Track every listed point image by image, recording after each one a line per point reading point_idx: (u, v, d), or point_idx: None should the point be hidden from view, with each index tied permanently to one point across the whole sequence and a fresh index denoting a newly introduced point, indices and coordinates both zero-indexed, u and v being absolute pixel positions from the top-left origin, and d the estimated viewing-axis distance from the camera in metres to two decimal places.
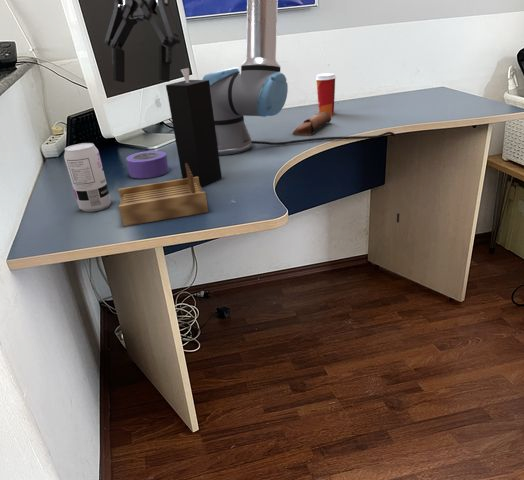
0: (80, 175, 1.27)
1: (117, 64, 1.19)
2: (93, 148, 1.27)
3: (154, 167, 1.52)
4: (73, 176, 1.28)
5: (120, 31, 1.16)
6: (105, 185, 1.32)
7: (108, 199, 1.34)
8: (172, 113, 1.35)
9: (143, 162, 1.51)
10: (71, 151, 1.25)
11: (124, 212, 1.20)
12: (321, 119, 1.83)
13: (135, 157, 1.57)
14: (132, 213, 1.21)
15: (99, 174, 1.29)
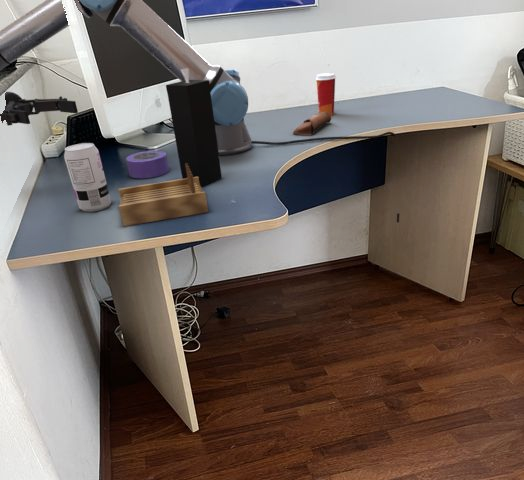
0: (80, 175, 1.27)
1: (67, 110, 1.34)
2: (93, 148, 1.27)
3: (154, 167, 1.52)
4: (73, 176, 1.28)
5: None
6: (105, 185, 1.32)
7: (108, 199, 1.34)
8: (172, 113, 1.35)
9: (143, 162, 1.51)
10: (71, 151, 1.25)
11: (124, 212, 1.20)
12: (321, 119, 1.83)
13: (135, 157, 1.57)
14: (132, 213, 1.21)
15: (99, 174, 1.29)
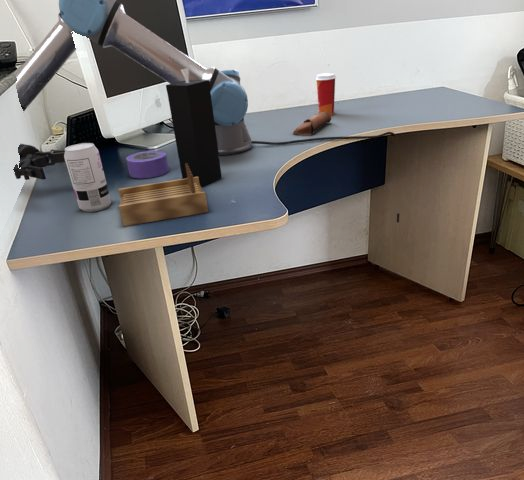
0: (80, 175, 1.27)
1: None
2: (93, 148, 1.27)
3: (154, 167, 1.52)
4: (73, 176, 1.28)
5: None
6: (105, 185, 1.32)
7: (108, 199, 1.34)
8: (172, 113, 1.35)
9: (143, 162, 1.51)
10: (71, 151, 1.25)
11: (124, 212, 1.20)
12: (321, 119, 1.83)
13: (135, 157, 1.57)
14: (132, 213, 1.21)
15: (99, 174, 1.29)
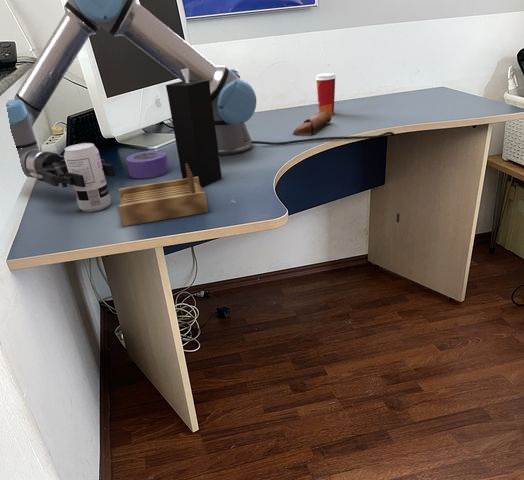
0: None
1: (104, 173, 1.33)
2: (93, 148, 1.27)
3: (154, 167, 1.52)
4: None
5: None
6: (105, 185, 1.32)
7: (108, 199, 1.34)
8: (172, 113, 1.35)
9: (143, 162, 1.51)
10: (71, 151, 1.25)
11: (124, 212, 1.20)
12: (321, 119, 1.83)
13: (135, 157, 1.57)
14: (132, 213, 1.21)
15: (99, 174, 1.29)
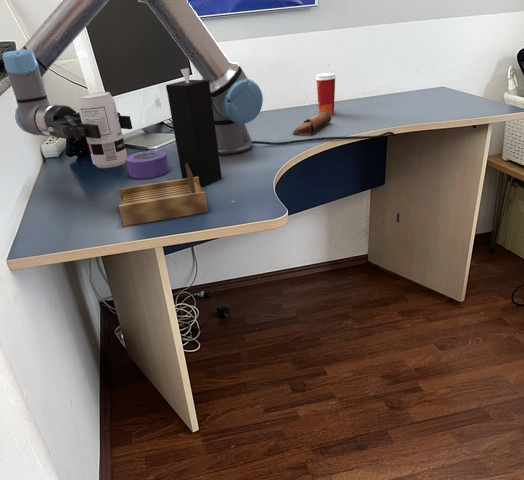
0: None
1: (120, 126, 1.23)
2: (109, 96, 1.16)
3: (154, 167, 1.52)
4: None
5: None
6: (121, 139, 1.22)
7: (124, 154, 1.23)
8: (172, 113, 1.35)
9: (143, 162, 1.51)
10: (85, 99, 1.14)
11: (124, 212, 1.20)
12: (321, 119, 1.83)
13: (135, 157, 1.57)
14: (132, 213, 1.21)
15: (115, 125, 1.19)
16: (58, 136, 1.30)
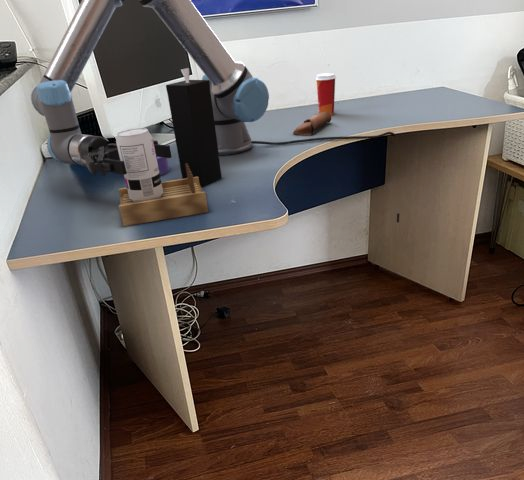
0: (134, 163, 1.18)
1: (159, 154, 1.26)
2: (148, 133, 1.17)
3: None
4: (125, 163, 1.19)
5: None
6: (158, 174, 1.23)
7: (161, 189, 1.24)
8: (172, 113, 1.35)
9: None
10: (125, 136, 1.15)
11: (124, 212, 1.20)
12: (321, 119, 1.83)
13: None
14: (132, 213, 1.21)
15: (153, 161, 1.20)
16: None
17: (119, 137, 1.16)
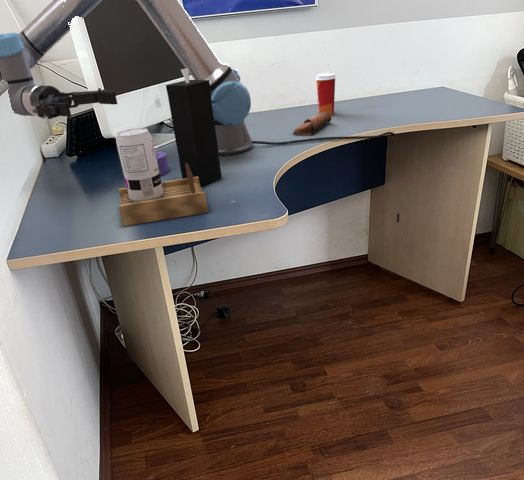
0: (134, 163, 1.18)
1: (106, 101, 1.32)
2: (148, 133, 1.17)
3: None
4: (125, 163, 1.19)
5: (87, 103, 1.35)
6: (158, 174, 1.23)
7: (161, 189, 1.24)
8: (172, 113, 1.35)
9: None
10: (125, 136, 1.15)
11: (124, 212, 1.20)
12: (321, 119, 1.83)
13: None
14: (132, 213, 1.21)
15: (153, 161, 1.20)
16: (43, 115, 1.37)
17: (119, 137, 1.16)
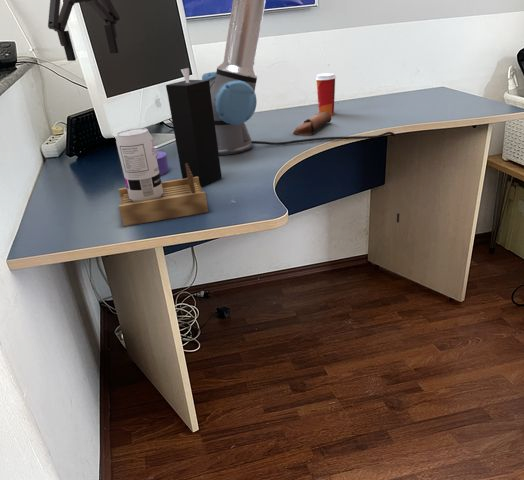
0: (134, 163, 1.18)
1: (108, 39, 1.41)
2: (148, 133, 1.17)
3: None
4: (125, 163, 1.19)
5: None
6: (158, 174, 1.23)
7: (161, 189, 1.24)
8: (172, 113, 1.35)
9: None
10: (125, 136, 1.15)
11: (124, 212, 1.20)
12: (321, 119, 1.83)
13: None
14: (132, 213, 1.21)
15: (153, 161, 1.20)
16: None
17: (119, 137, 1.16)
